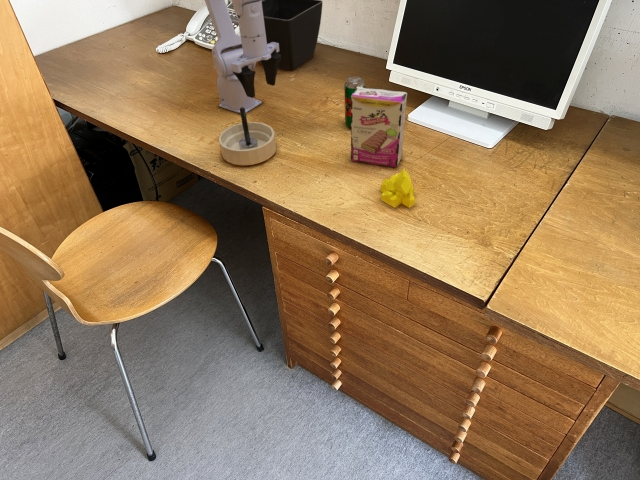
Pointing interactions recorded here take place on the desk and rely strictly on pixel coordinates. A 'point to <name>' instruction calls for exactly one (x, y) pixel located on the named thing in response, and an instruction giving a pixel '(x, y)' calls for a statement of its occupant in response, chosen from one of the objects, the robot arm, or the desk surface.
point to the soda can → (349, 90)
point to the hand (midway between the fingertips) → (261, 90)
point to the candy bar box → (377, 126)
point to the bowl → (247, 156)
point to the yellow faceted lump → (398, 190)
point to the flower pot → (292, 29)
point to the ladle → (246, 134)
